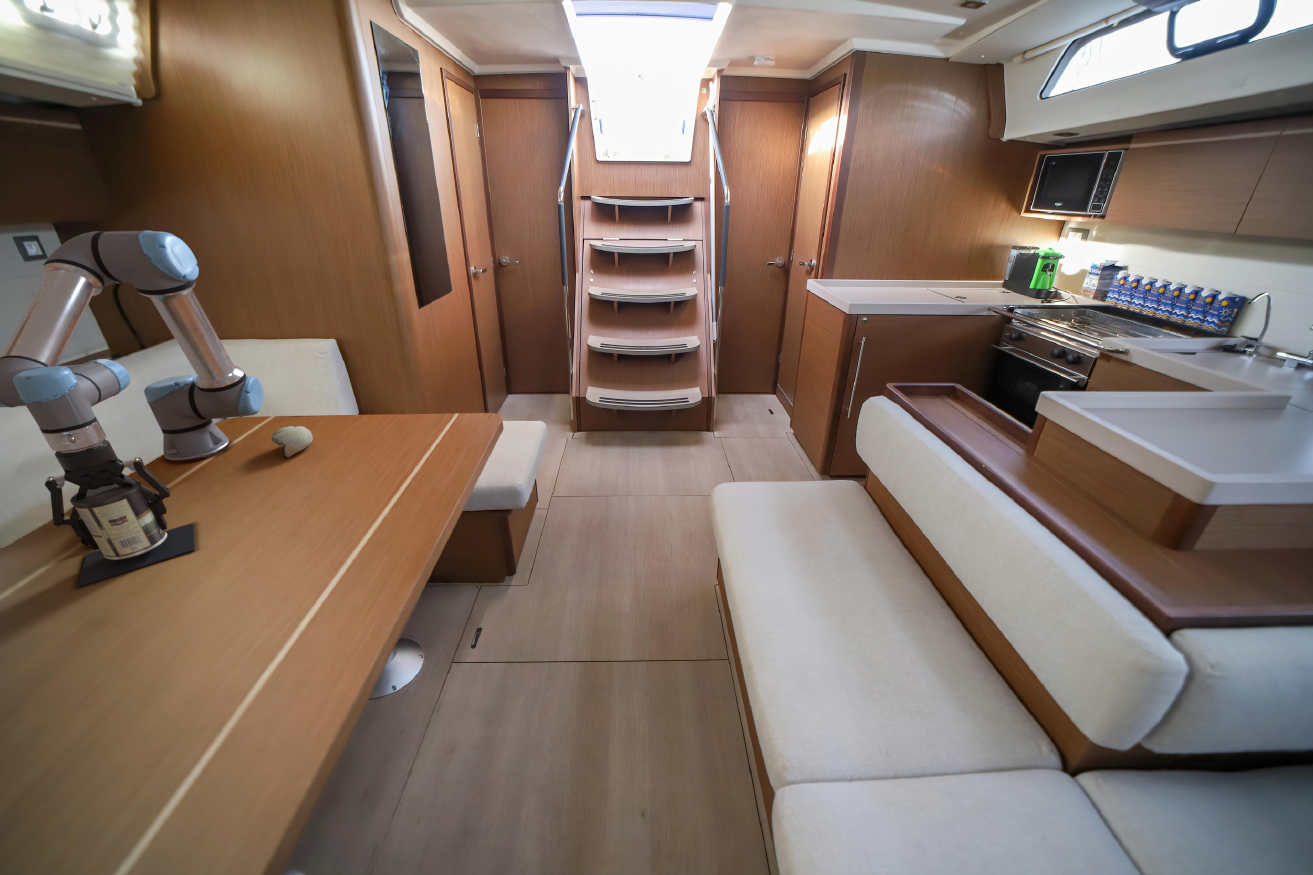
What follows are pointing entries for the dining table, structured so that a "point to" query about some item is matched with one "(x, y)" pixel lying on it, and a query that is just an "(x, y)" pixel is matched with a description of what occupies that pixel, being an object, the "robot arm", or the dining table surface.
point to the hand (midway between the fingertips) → (131, 536)
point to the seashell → (292, 439)
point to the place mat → (138, 556)
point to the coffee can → (120, 520)
